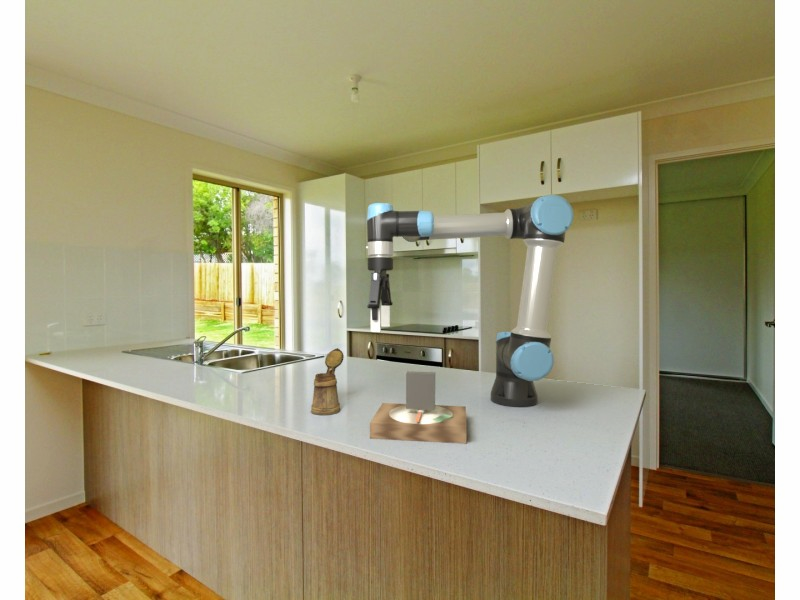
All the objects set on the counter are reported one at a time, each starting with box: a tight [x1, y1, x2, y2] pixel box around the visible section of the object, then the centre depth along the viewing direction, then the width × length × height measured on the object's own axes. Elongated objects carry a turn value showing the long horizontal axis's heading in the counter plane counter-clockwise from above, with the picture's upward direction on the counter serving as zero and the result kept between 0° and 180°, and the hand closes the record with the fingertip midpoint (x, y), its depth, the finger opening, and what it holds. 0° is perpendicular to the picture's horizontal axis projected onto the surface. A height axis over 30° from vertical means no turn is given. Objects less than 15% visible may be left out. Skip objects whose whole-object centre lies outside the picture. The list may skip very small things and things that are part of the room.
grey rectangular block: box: [405, 370, 436, 422], centre depth 112 cm, size 8×10×11 cm
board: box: [369, 402, 467, 444], centre depth 116 cm, size 24×18×4 cm
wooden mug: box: [310, 348, 345, 416], centre depth 134 cm, size 9×14×18 cm, turn 163°
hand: (380, 329), depth 129 cm, fingers open, 13 cm apart
